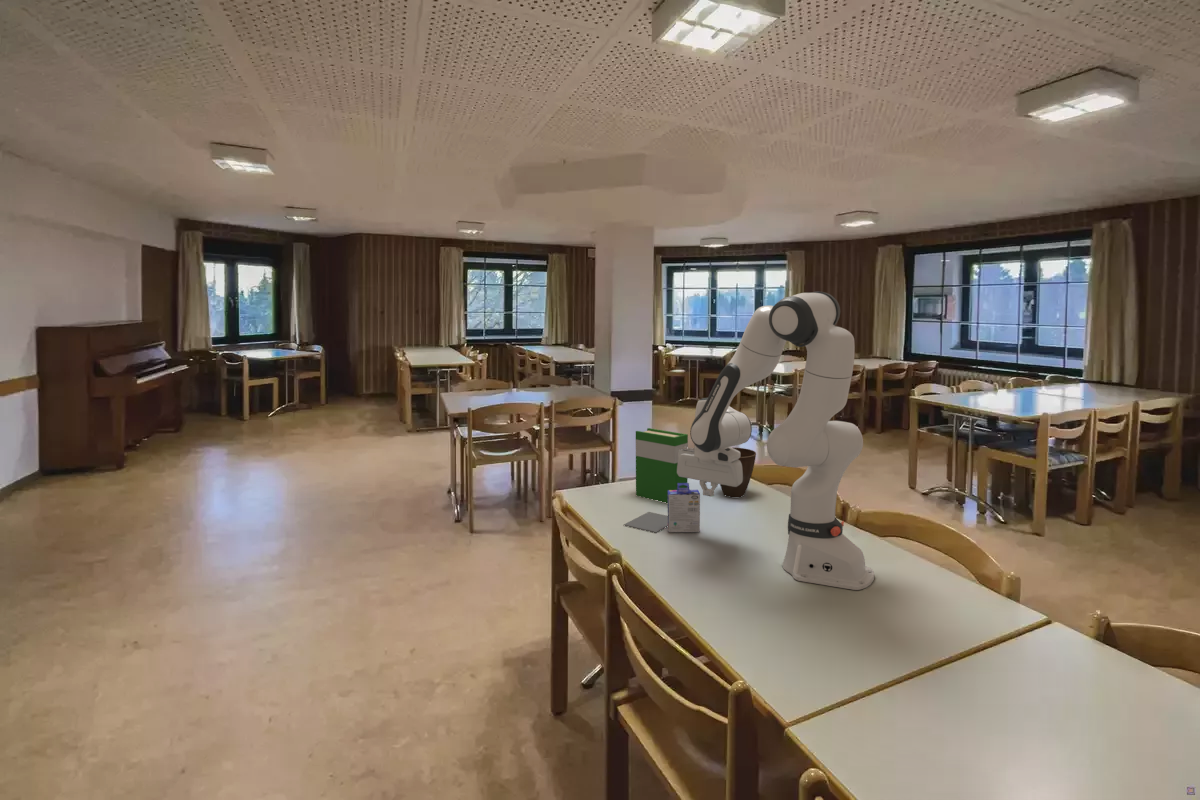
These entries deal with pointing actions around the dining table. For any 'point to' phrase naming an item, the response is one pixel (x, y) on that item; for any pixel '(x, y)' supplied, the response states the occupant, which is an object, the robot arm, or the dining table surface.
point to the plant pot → (747, 466)
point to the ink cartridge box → (683, 509)
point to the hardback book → (658, 463)
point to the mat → (649, 522)
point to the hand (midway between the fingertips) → (708, 495)
